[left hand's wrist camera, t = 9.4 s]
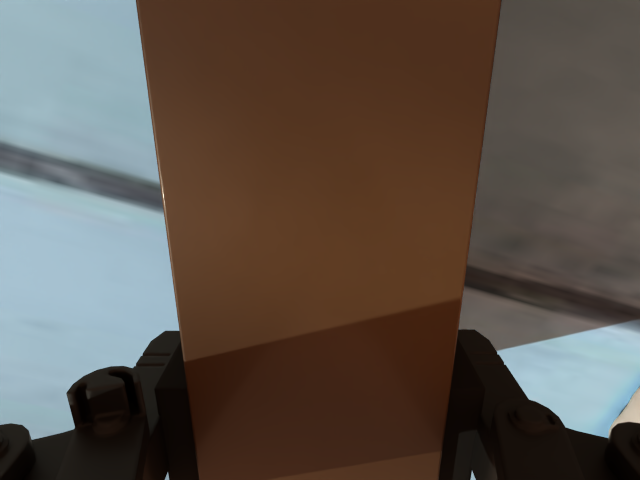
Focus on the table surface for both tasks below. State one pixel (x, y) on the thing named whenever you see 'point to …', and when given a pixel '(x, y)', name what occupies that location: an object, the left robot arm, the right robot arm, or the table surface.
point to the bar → (318, 223)
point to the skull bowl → (629, 411)
